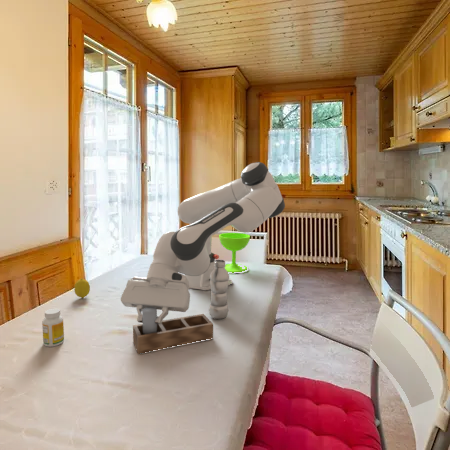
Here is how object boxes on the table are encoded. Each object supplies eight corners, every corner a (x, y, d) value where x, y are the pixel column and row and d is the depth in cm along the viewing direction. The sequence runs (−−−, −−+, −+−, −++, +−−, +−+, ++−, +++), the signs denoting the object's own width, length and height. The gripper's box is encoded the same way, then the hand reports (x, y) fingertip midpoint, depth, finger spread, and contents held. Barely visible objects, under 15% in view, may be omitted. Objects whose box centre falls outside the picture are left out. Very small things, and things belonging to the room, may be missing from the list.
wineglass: (218, 265, 184) (219, 232, 181) (248, 265, 184) (249, 233, 181) (217, 273, 168) (218, 238, 166) (249, 274, 168) (250, 238, 165)
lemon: (84, 301, 129) (83, 281, 128) (71, 300, 130) (70, 280, 129) (93, 296, 134) (92, 276, 133) (80, 295, 135) (79, 275, 134)
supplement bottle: (40, 347, 95) (38, 315, 93) (47, 338, 100) (45, 307, 98) (61, 346, 96) (59, 314, 94) (66, 337, 101) (64, 306, 99)
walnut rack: (203, 328, 109) (203, 313, 108) (212, 339, 101) (213, 324, 101) (133, 341, 99) (132, 325, 99) (138, 354, 92) (138, 337, 92)
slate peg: (153, 331, 100) (152, 306, 99) (159, 337, 97) (159, 310, 96) (140, 335, 97) (139, 309, 96) (146, 341, 94) (146, 313, 93)
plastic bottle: (208, 313, 120) (209, 258, 117) (227, 313, 121) (228, 258, 118) (209, 321, 114) (210, 263, 111) (229, 321, 114) (230, 263, 111)
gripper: (125, 271, 103) (110, 315, 95) (190, 276, 100) (180, 322, 92) (132, 281, 108) (118, 323, 100) (194, 286, 105) (185, 330, 97)
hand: (149, 322), depth 96 cm, fingers closed on slate peg, 4 cm apart
